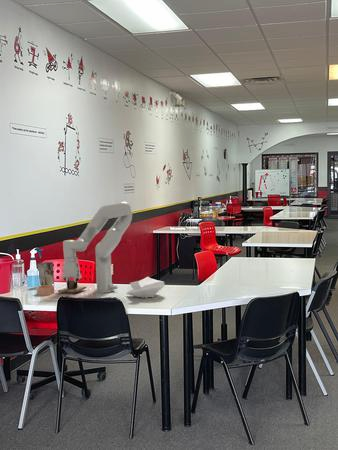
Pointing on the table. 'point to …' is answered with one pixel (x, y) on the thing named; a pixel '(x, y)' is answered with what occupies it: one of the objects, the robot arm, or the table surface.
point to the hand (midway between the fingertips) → (72, 288)
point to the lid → (71, 288)
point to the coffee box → (46, 273)
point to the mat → (71, 292)
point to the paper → (145, 287)
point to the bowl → (45, 290)
